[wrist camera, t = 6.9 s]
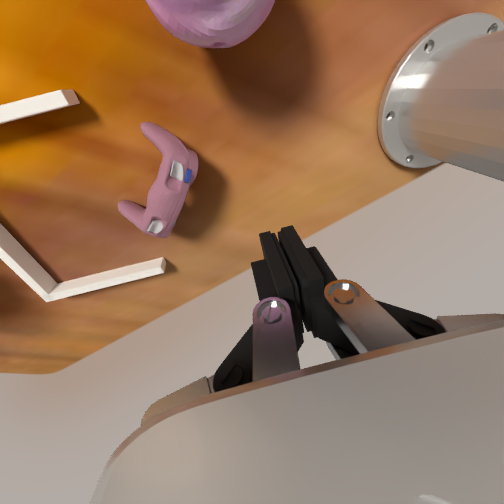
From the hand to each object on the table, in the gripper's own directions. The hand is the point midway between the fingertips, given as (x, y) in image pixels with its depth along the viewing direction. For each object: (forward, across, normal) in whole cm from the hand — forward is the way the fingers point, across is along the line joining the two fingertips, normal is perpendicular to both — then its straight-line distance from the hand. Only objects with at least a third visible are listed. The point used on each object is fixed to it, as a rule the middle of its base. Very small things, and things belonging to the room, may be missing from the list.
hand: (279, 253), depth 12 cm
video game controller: (+17, +9, -1) cm, 19 cm away
